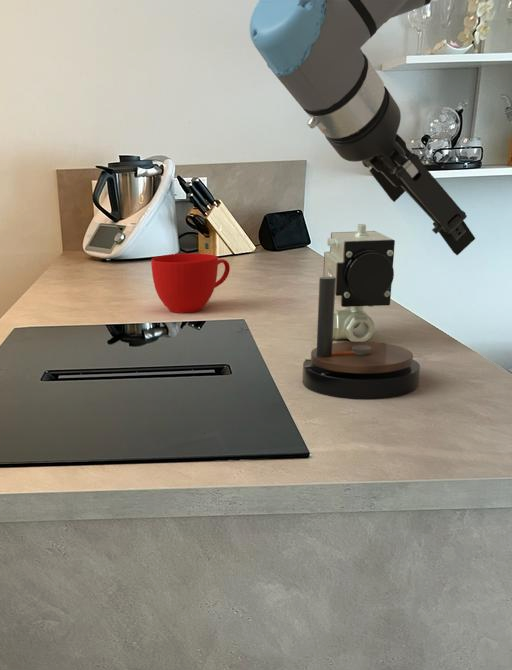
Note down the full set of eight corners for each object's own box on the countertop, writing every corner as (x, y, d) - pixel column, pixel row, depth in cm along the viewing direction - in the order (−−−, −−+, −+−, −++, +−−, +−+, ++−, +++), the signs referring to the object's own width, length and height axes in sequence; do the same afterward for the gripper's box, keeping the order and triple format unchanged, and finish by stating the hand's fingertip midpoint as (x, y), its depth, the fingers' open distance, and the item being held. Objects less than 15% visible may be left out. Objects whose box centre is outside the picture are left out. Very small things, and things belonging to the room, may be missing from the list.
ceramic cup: (247, 307, 155) (247, 255, 152) (174, 319, 148) (173, 264, 144) (211, 298, 166) (210, 249, 162) (141, 309, 158) (139, 258, 154)
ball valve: (317, 327, 136) (321, 220, 129) (366, 326, 136) (373, 218, 129) (333, 352, 120) (339, 231, 113) (389, 351, 119) (399, 229, 112)
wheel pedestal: (422, 371, 108) (424, 352, 107) (412, 403, 96) (414, 381, 95) (313, 364, 114) (314, 346, 113) (290, 394, 101) (291, 373, 100)
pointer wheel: (390, 346, 110) (397, 265, 106) (428, 370, 98) (437, 280, 94) (299, 351, 109) (302, 271, 105) (327, 376, 97) (331, 286, 93)
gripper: (273, 94, 92) (356, 194, 107) (390, 192, 77) (468, 294, 92) (321, 40, 90) (399, 151, 105) (452, 130, 74) (521, 245, 89)
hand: (431, 218), depth 98 cm, fingers open, 13 cm apart
